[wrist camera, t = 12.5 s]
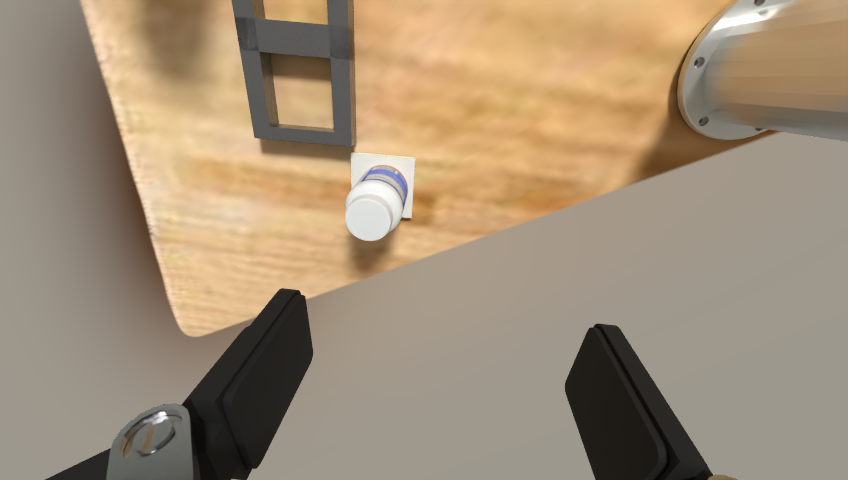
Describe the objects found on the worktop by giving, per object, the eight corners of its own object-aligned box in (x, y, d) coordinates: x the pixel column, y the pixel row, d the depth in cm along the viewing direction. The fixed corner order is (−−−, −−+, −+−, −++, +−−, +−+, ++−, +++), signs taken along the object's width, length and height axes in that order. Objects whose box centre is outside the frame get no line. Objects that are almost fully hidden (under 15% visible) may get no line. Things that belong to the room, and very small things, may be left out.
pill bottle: (383, 217, 37) (366, 260, 28) (351, 183, 35) (323, 217, 27) (418, 190, 35) (412, 227, 27) (386, 152, 34) (368, 178, 25)
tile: (415, 157, 34) (415, 158, 34) (411, 216, 38) (411, 218, 37) (352, 151, 34) (350, 153, 34) (353, 211, 38) (352, 213, 37)
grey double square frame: (351, -84, 26) (345, -96, 24) (356, 143, 34) (351, 146, 32) (229, -95, 25) (213, -108, 24) (264, 134, 34) (254, 137, 32)
